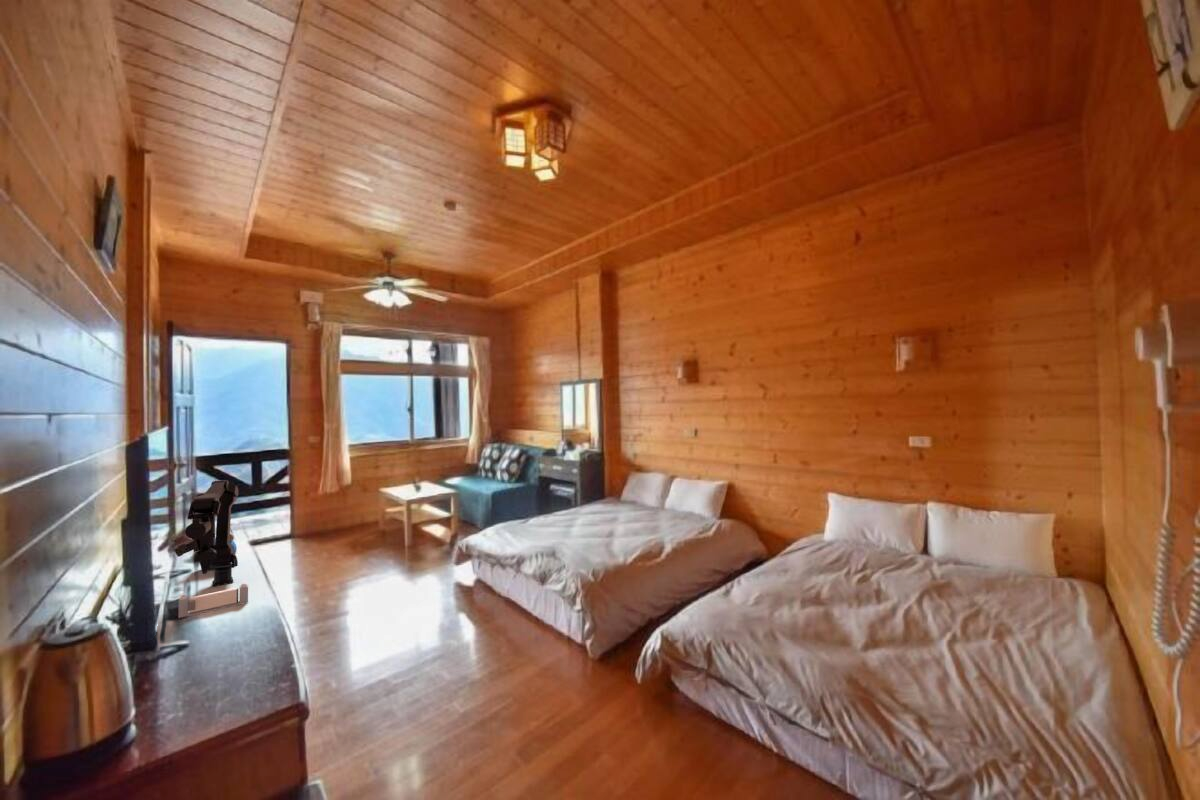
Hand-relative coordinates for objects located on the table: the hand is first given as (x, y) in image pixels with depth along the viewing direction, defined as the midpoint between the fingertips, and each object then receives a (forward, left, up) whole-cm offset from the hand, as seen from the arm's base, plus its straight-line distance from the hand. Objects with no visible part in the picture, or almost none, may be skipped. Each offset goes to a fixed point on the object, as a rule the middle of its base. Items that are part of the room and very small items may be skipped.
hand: (204, 573), depth 172 cm
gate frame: (+6, +3, -12) cm, 14 cm away
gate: (+6, +3, -11) cm, 13 cm away
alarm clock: (-44, +5, -12) cm, 46 cm away
